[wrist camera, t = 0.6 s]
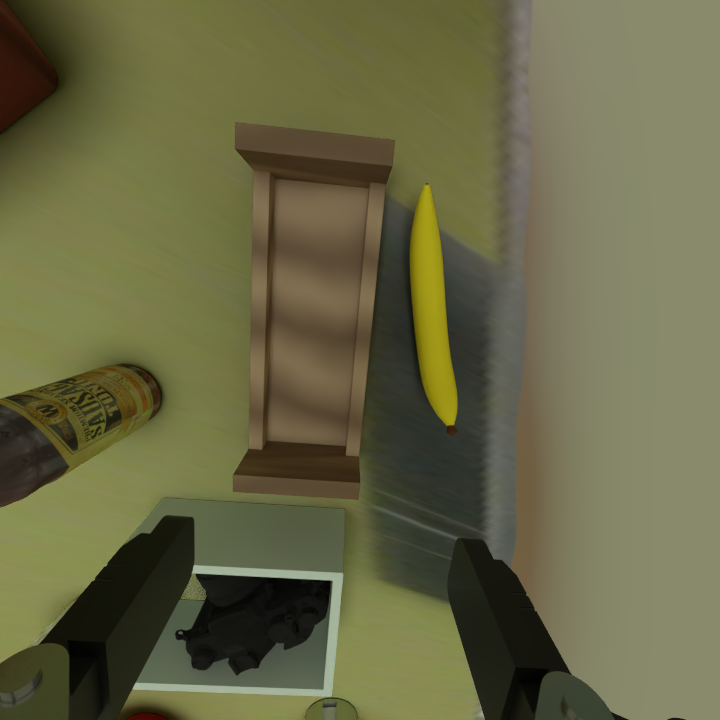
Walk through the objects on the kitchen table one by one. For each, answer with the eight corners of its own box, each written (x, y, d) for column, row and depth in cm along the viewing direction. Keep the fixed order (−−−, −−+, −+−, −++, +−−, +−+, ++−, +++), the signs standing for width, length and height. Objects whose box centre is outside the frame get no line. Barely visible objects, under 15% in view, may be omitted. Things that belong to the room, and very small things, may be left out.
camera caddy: (163, 497, 35) (109, 560, 27) (345, 508, 36) (343, 573, 28) (168, 604, 38) (121, 688, 30) (335, 612, 39) (331, 696, 31)
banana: (431, 196, 29) (453, 173, 23) (449, 404, 33) (471, 433, 27) (397, 201, 29) (410, 180, 23) (419, 409, 33) (435, 438, 27)
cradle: (263, 160, 28) (235, 122, 21) (384, 173, 28) (395, 140, 22) (256, 448, 34) (232, 491, 27) (356, 455, 34) (358, 499, 27)
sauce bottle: (178, 391, 32) (-81, 560, 13) (138, 436, 33) (-159, 654, 14) (120, 344, 31) (-261, 452, 12) (80, 391, 32) (-332, 563, 13)
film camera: (303, 491, 35) (288, 561, 26) (341, 562, 37) (338, 649, 29) (174, 542, 36) (118, 626, 27) (218, 608, 38) (179, 706, 30)
